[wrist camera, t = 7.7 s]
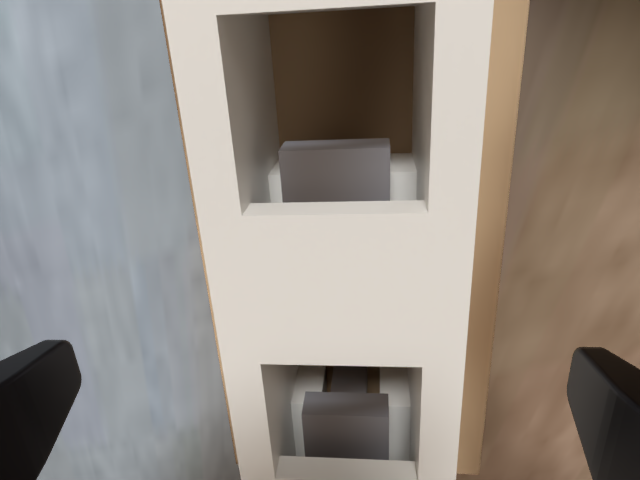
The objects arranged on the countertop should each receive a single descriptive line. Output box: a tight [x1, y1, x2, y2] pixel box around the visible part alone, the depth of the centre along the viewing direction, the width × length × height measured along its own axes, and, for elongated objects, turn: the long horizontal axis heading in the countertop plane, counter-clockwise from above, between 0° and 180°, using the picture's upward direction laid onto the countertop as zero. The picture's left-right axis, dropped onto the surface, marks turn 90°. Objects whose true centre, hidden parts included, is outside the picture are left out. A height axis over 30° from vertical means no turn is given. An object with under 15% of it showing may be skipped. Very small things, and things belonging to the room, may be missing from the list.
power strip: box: [162, 0, 494, 480], centre depth 14 cm, size 18×6×5 cm, turn 3°
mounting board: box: [159, 0, 530, 475], centre depth 16 cm, size 10×20×5 cm, turn 3°
